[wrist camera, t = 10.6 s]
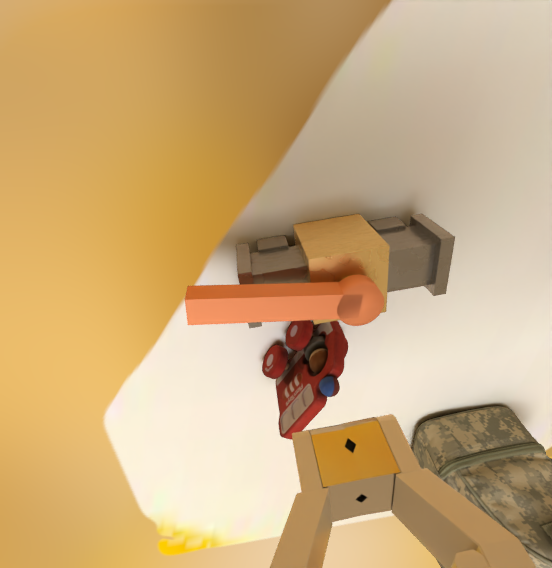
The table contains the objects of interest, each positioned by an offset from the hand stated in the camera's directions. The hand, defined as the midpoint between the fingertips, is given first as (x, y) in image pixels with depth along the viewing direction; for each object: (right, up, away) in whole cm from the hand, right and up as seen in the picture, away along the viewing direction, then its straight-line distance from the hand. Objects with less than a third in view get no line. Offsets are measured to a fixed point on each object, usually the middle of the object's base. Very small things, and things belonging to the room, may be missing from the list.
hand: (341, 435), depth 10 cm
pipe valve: (+4, +8, +27) cm, 29 cm away
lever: (-1, +3, +19) cm, 19 cm away
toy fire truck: (+1, -3, +34) cm, 35 cm away
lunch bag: (+30, -26, +52) cm, 65 cm away
